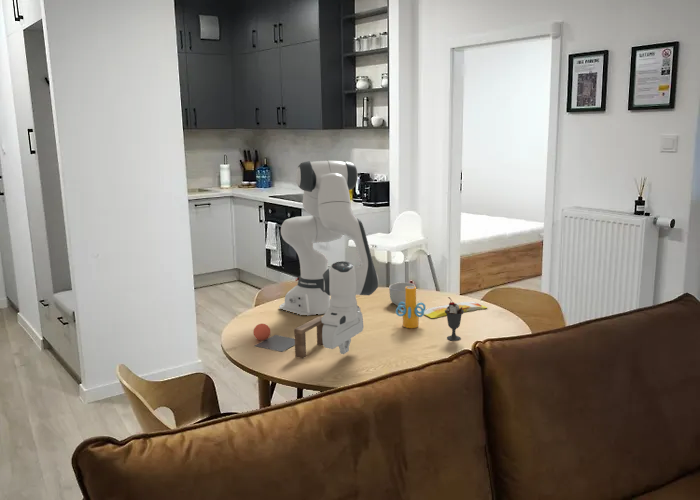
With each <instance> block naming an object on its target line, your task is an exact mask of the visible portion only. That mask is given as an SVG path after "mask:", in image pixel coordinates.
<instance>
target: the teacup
mask: <svg viewBox="0 0 700 500" xmlns="http://www.w3.org/2000/svg"><path fill="white" fill-rule="evenodd" d="M407 286H415V287H416V285H415V284H414V283H412V282H399V281H397V282H395V283H393V284H389V287H388V289H389V298H390V301H391V302H392V303H393V304H394V305H396V306H398V304H399V303H400V302H404V303H405V287H407ZM401 305H403V306H404V304H401Z"/></svg>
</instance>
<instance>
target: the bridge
mask: <svg viewBox="0 0 700 500" xmlns="http://www.w3.org/2000/svg"><path fill="white" fill-rule="evenodd" d="M322 317H323V316H321V315H320V316H317V317H315V318H313V319H312V320H309V321H307V322H305V323H303V324H301V325H300V326H298V327H296V328H294V330H293V331H294V339H295V345H294V357H295V358H297V359H298V358H299V359H304V358H306V357H307V343H306V341H307V339H306V338H307V337H306V333H307V332H308V331H310V330H312V329H314V328H316V343H317V345H318V346H323V347H324V345H323V340H322V328H323V325H324V324H323V323H322V321H321V319H322Z"/></svg>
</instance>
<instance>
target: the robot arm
mask: <svg viewBox="0 0 700 500" xmlns="http://www.w3.org/2000/svg"><path fill="white" fill-rule="evenodd" d="M358 176H359V174H358V170H357V167H356V165H355V164H354V163H353V162H351V161H348V160H346V161H345V160H343V161H342V160H317V161H316V160H314V161H304V162H303V161H302V162H300V164H298V166H297V168H296V172H295V180H296V183H297V186H298V188H299V189H301V191H303V197H302V207H303V209H304V210H305V212H307V213H308V214H309V215H303V216H295V217H294V216H293V217H291V218H287V219H285V220H284V221H283V222H282V224H281V227H280V235H281V237H282V240H283V241H284V242H285V243H287V244H288V245H289V246H290V247H292V249H294V251H295V252H296V254H297V256H298V260H299V261H298V262H299V267H300V268H299V270H300V275H299V276H298V277H297V278H296V277H295V282H297V284H296V285H295V286H294V287H293V288H291V289H290V290H289V291H288V292H286V294H285V296H284V302H283V303H281V304H280V305H279V307H278V309H279V308H280V309H283V310H287V311H290V312H294V313H297V314H296V315H298V314H300V315H299V316H301V315H307V316H313V315H316V314H318V315H323V316H321V317H322V319H321V321H322V323H323V324H324V325H323V328H322V340H323V345H324V346H323V345H322V346H323V347H324V348H325V349H329V350H333V349H336V348H337V347H338V348H339V353H340V355H345V354H347V353H349V352H350V345H351V341H352V338H354V337H356V335H359V334H360V333H362V332H363V331H364V317H363V312H362V310H361V307H360V306H359V305H358V301H357V297H356V296H358V295H359V296H371V295H372V294H374V292H376V290H377V289H378V287H379V276H378V273H377V272H376V267H375V265H374V262H373V258H372V253H371V250H370V246H369V242H368V237H367V235H366V230H365V227H364V224H363V223H362V220H361V219H359V218H357V217H356V216H355V214H354V212H353V210H352V206H351V197H350V196H351V195H350V191H351V190H353V189H354V188H355V187H356V186H357V182H358V178H359V177H358ZM343 236H345V237H348V238H349V239H351V240H352V241H353V243H354V245H355V248H356V253H357V256H358V260H359V265H356V266H355V265H354V264H353V263H352V262H348V261H343V260H342V261H336V262H334V263H332V264H331V266H330V267H329V264H328V263H329V262H328V258H327V255H326V254H325V253H323V252H322V251H320V250H317V249H314V244H319V243H328V242H333V241H336V240H339V239H341V238H342V237H343ZM280 309H279V310H280ZM283 310H282V311H283ZM287 311H286V312H287ZM290 312H289V313H290ZM294 313H293V314H294Z"/></svg>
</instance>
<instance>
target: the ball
mask: <svg viewBox="0 0 700 500" xmlns="http://www.w3.org/2000/svg"><path fill="white" fill-rule="evenodd" d="M253 336H254V338H255V339H256V340H258V341H260V342H262V341H264V340H266V339H268V338H270V337H271V328H270V326H268V325H267V323H258V324H257V325H256V326H255V327H254V328H253Z"/></svg>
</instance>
